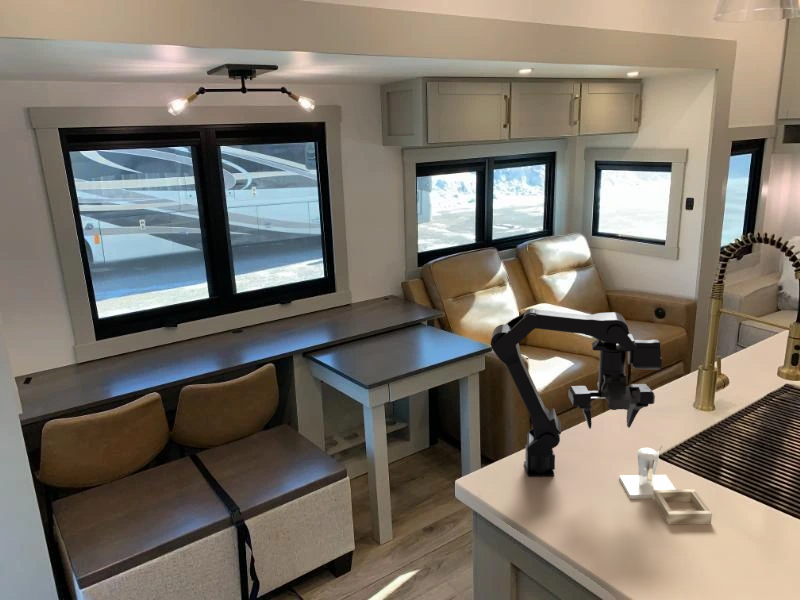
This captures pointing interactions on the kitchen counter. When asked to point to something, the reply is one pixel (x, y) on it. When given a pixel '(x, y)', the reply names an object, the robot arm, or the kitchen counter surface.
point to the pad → (639, 492)
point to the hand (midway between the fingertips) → (609, 427)
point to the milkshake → (647, 466)
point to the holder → (682, 517)
